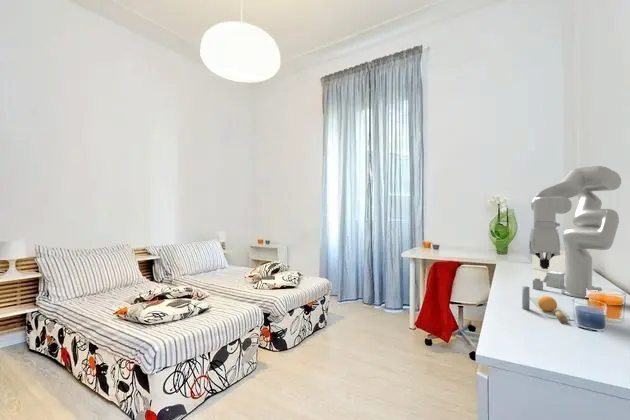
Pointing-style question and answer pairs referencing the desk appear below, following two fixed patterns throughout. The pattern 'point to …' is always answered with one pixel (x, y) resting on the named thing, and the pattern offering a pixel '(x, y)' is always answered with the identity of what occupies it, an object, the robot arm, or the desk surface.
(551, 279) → the skincare box
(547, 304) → the ball
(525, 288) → the grey pin
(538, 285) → the grey stepped block
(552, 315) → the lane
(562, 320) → the maple pin
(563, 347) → the desk surface
